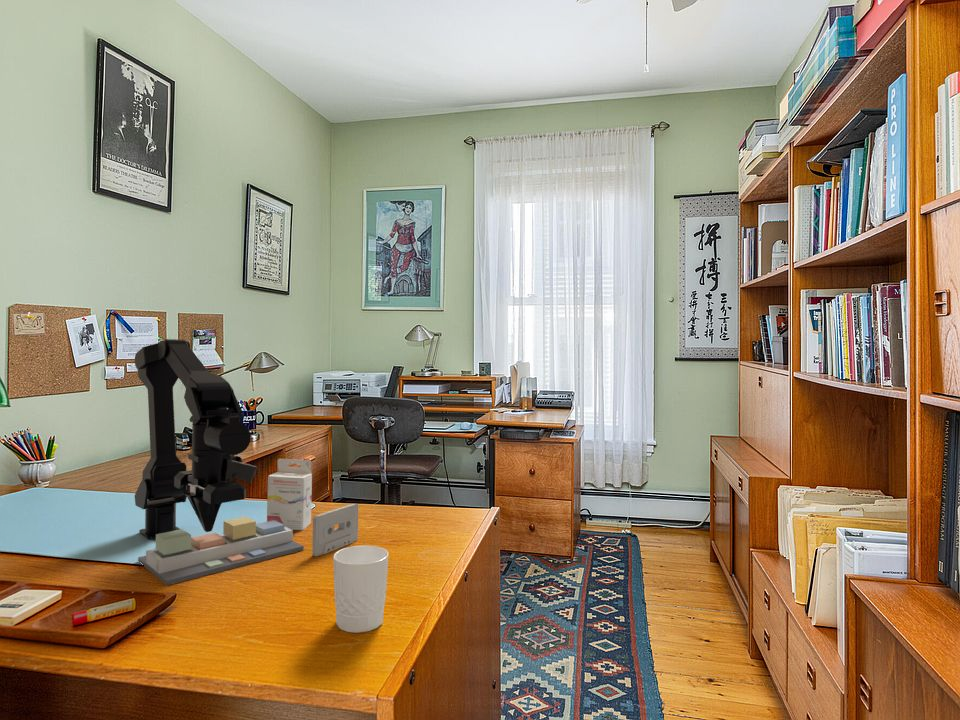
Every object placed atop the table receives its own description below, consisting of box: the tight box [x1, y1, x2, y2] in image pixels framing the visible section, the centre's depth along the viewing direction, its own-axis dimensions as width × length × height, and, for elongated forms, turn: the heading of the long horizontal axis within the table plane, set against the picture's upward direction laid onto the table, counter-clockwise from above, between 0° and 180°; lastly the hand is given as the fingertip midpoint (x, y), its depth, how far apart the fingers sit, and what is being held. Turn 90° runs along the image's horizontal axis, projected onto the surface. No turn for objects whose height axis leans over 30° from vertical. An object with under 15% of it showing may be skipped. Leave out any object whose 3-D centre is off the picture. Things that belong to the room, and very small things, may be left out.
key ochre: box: [222, 516, 257, 540], centre depth 112 cm, size 4×4×3 cm
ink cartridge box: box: [266, 458, 313, 531], centre depth 129 cm, size 9×5×15 cm, turn 84°
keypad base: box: [137, 526, 304, 586], centre depth 110 cm, size 15×25×3 cm, turn 136°
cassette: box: [311, 503, 359, 557], centre depth 116 cm, size 12×2×8 cm, turn 150°
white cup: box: [332, 545, 389, 634], centre depth 84 cm, size 8×8×10 cm
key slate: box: [256, 520, 284, 536], centre depth 117 cm, size 4×4×3 cm
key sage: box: [155, 528, 192, 555], centre depth 104 cm, size 4×4×3 cm
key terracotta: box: [191, 532, 225, 550], centre depth 108 cm, size 4×4×3 cm
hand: (208, 531), depth 108 cm, fingers closed
